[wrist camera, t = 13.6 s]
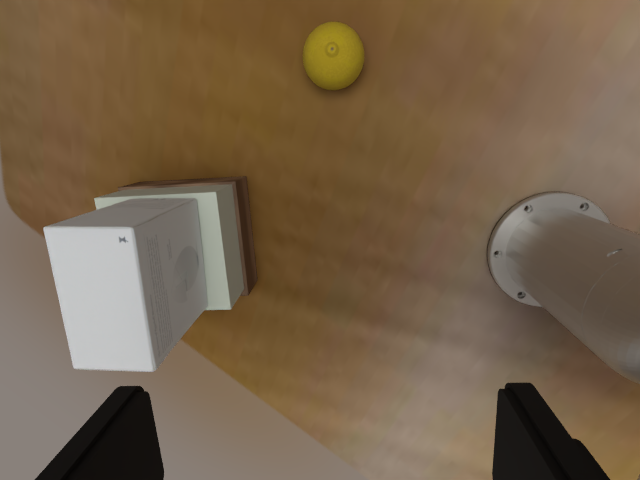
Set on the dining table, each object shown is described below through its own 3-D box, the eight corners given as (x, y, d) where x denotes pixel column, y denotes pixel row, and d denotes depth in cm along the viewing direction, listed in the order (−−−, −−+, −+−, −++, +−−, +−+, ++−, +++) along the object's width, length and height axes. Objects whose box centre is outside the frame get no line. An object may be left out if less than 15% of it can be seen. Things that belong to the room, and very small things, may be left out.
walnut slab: (247, 175, 44) (235, 181, 39) (258, 278, 47) (248, 295, 42) (142, 181, 45) (117, 187, 40) (159, 281, 48) (139, 298, 43)
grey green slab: (231, 184, 39) (215, 191, 35) (244, 288, 42) (230, 309, 38) (124, 189, 40) (94, 198, 35) (143, 291, 43) (118, 312, 38)
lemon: (329, 105, 41) (325, 99, 33) (295, 58, 40) (283, 42, 32) (373, 69, 40) (380, 55, 32) (340, 21, 39) (338, -6, 31)
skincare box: (125, 198, 35) (36, 225, 25) (197, 197, 35) (136, 225, 25) (142, 307, 38) (68, 372, 28) (209, 308, 38) (158, 374, 28)
